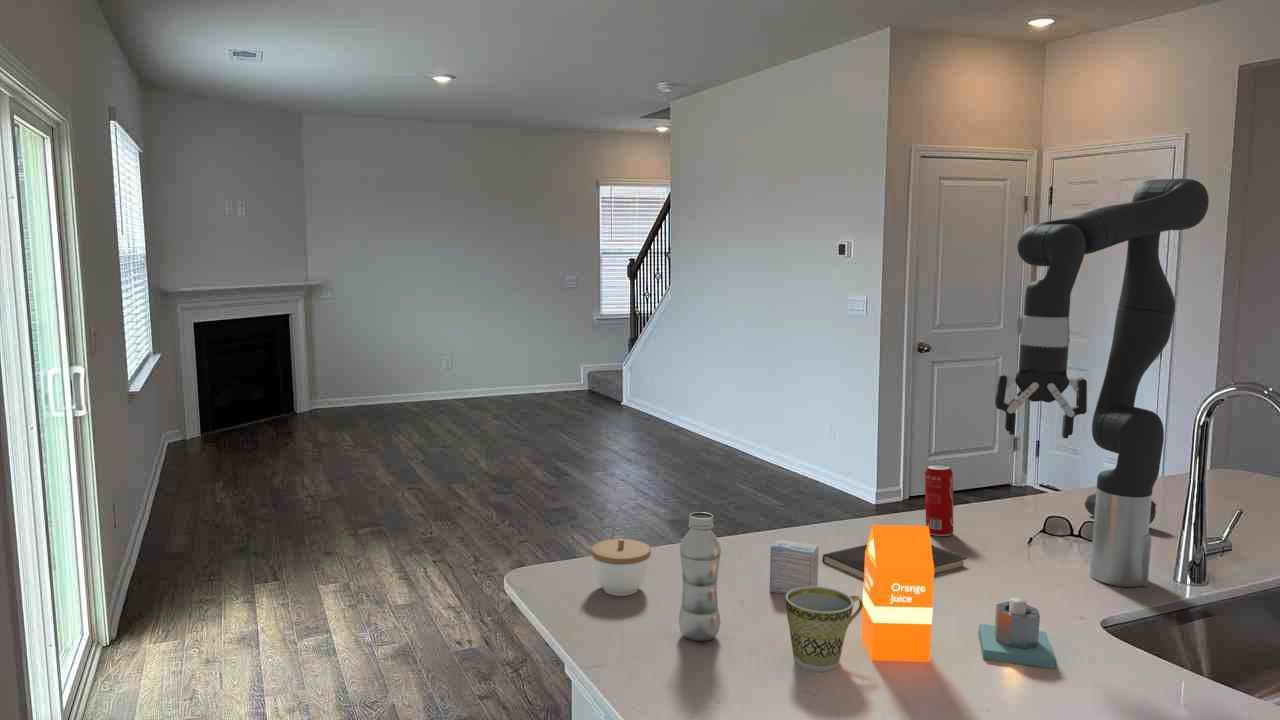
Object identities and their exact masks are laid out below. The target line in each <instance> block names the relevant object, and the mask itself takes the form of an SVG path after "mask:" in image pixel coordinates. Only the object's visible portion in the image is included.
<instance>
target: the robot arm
mask: <svg viewBox="0 0 1280 720" xmlns="http://www.w3.org/2000/svg"><path fill="white" fill-rule="evenodd" d="M1133 194H1134V195H1133V197H1132V201H1131V202H1125V203H1120V204H1119V203H1118V204H1113V205H1107V206H1101V207H1099V208H1095V209H1092V210H1089V211H1086V212H1083V213H1080V214H1078V215H1075V216H1072V217H1067V218H1061V219H1055V220H1049V221H1044V222H1039V223H1036V224H1033V225H1031V226H1030V227H1028V228H1026V229H1025V230H1024V231H1023V232H1022V234H1021V235H1020V237H1019V239H1018V241H1017V252H1018V255H1019V257H1020V258H1021V259H1022V261H1023V262H1024V263H1026V264H1029V265H1030V266H1034V267H1048V270H1047V272H1046V274H1045V276H1044V278H1043V279H1040V280H1035V281H1034V280H1033V281H1031V282H1030V283H1029V284H1027V286H1026V289H1025V294H1024V296H1025V297H1024V308H1023V309H1024V310H1023V312H1024V313H1023V320H1022V324H1021V329H1020V330H1021V331H1020V343H1019V345H1020V346H1019V357H1018V359H1019V360H1018V361H1019V362H1018V371H1017V373H1016V375H1010V374H1009V375H1007V374H1004V373H999V375H998V377H997V385H996V394H995V400H994V405H995V407H996V408H997V410H1000V411H1004V412H1005V423H1004V427H1005V430H1006V432H1008V434H1009V435H1010V436H1015V430H1016V429H1015V428H1016V413H1015V411H1016V410H1018V408H1019V407H1020V406H1021V405H1023V404H1024V403H1025V402H1026V400H1028V401H1030V402H1034V403H1035V402H1036V403H1037V402H1044V403H1052V402H1054V401H1055V402H1056V403H1057V404H1058V405H1059V407H1060V408H1061V410H1062V411H1063V412H1064V414H1062V415H1063V417H1062V426H1061V427H1062V429H1061V437H1062V439H1069V436H1072V435H1073V433H1074V419H1075V417H1077V416H1079V415H1084V414H1085V415H1086V413H1087V411H1088V409H1087V408H1088V407H1087V405H1088V403H1087V401H1088V399H1087V398H1088V397H1087V396H1088V395H1087V393H1088V392H1087V391H1088V390H1087V389H1088V388H1087V387H1088V382H1087V380H1086V379H1085V378H1084V377H1078V378H1069V377H1068V374H1067V371H1068V370H1067V369H1068V357H1069V345H1070V343H1071V341H1070V340H1071V339H1070V338H1071V337H1070V318H1069V317H1070V312H1071V311H1070V309H1071V294H1072V292H1073V291H1072V290H1073V288H1074V286H1075V283H1076V280H1077V277H1078V273H1079V271H1080V269H1081V266H1082V263H1083V260H1084V258H1085V256H1086V255H1090V254H1093V253H1096V252H1100V251H1102V250H1105V249H1108V248H1110V247H1113V246H1115V245H1118V244H1121V243H1125V242H1127V251H1126V261H1125V267H1124V273H1123V279H1122V284H1121V285H1122V286H1121V292H1120V296H1119V300H1118V305H1117V312H1116V317H1115V322H1114V328H1113V329H1114V330H1113V336H1112V337H1113V338H1112V342H1111V347H1110V351H1109V352H1110V353H1109V356H1108V361H1107V366H1106V371H1105V375H1104V379H1103V383H1102V385H1101V390H1100V392H1099V396H1098V398H1097V402H1096V405H1095V409H1094V414H1093V417H1092V418H1093V419H1092V424H1091V436H1092V438H1093V439H1092V440H1093V441H1094V443H1095V444H1096V445H1097V446H1098V447H1099V448H1101V449H1103V450H1105V451H1108V452H1111V453H1115V454H1118V456H1117V460H1116V461H1117V462H1116V466H1115V468H1113V469H1107V470H1103V471H1101V472H1100V473H1099V474H1098V475H1097V477H1096V492H1095V494H1096V502H1095V515H1094V518H1093V528H1092V529H1093V530H1092V540H1091V541H1092V542H1091V553H1090V563H1089V567H1090V568H1089V569H1090V570H1089V575H1090V576H1091V578H1092V579H1094V580H1096V581H1099V582H1101V583H1105V584H1107V585H1112V586H1117V587H1125V588H1135V587H1148V582H1149V572H1150V560H1151V550H1152V536H1151V535H1150V534H1149V533H1150V524H1149V522H1150V511H1151V500H1152V499H1153V498H1152V496H1153V489H1154V486H1155V484H1156V482H1157V479H1158V477H1159V473H1160V467H1161V459H1162V453H1163V447H1164V439H1165V437H1164V436H1165V431H1164V424H1163V422H1162V419H1161V418H1160V415H1158V414H1157V413H1155V412H1154V411H1152V410H1149V409H1145V408H1140V407H1136V406H1135V403H1136V396H1137V391H1138V390H1139V389H1138V387H1139V385H1140V381H1141V380H1142V378H1143V376H1144V374H1145V373H1146V372H1147V370H1148V369H1149V367H1150V366H1151V365H1152V364H1153V363H1154V362H1155V360H1156V359H1157V358H1158V357H1159V356H1160V354H1161V353H1162V351H1163V350H1164V349H1165V347H1166V345H1167V344H1168V342H1169V341H1170V340H1169V339H1170V337H1171V333H1172V332H1171V331H1172V328H1173V327H1172V326H1173V321H1174V317H1175V312H1176V300H1175V297H1174V296H1175V295H1174V293H1173V290H1172V288H1171V286H1170V283H1169V282H1168V279H1167V277H1166V274H1165V273H1164V270H1163V268H1162V265H1161V261H1160V257H1159V256H1160V255H1159V253H1160V249H1159V248H1160V247H1159V246H1160V237H1161V233H1163V232H1167V231H1183V230H1188V229H1192V228H1194V227H1196V226H1197V225H1199V224H1200V223H1201V222H1202V221H1203V220H1204V218H1205V216H1206V215H1207V213H1208V208H1209V205H1210V204H1209V202H1210V201H1209V200H1210V199H1209V193H1208V190H1207V189H1206V187H1205V185H1204V184H1203V183H1202V182H1200V181H1198V180H1195V179H1192V178H1169V179H1168V178H1166V179H1164V178H1163V179H1162V178H1161V179H1158V178H1157V179H1149V180H1145V181H1143V182H1142V183H1140V185H1138V187H1137V188H1136V190H1135V192H1134V193H1133ZM1013 383H1015V384H1016V385H1017V387H1018V389H1019V391H1018V392H1017V393H1016V394H1015V395H1014V396H1013V398H1012V399H1011V400H1010V401H1009V402H1008V403H1007V402H1005V398H1006V391H1007V389H1008V388H1010V387H1011V386H1012V384H1013ZM1069 386H1071V389H1072V390H1073V391H1074V392H1075V393H1076V394H1075V395H1076V396H1075V398H1076V400H1075V402H1076V403H1075V404H1076V405H1075V406H1070V404H1069V402H1067V400H1066V398H1065V397H1064V396H1063V393H1064V392H1065V390H1066V389H1067V388H1068V387H1069Z"/></svg>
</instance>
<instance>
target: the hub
mask: <svg viewBox="0 0 1280 720" xmlns="http://www.w3.org/2000/svg"><path fill="white" fill-rule="evenodd" d="M1009 604H1010V601H1005V602H1001V603H997V604H996V605H995V606H996V607H995V608H996V609H995V623H994V626H995V634H994V635H995V639H996V641H997V642H999V643H1001V644H1003V645H1005V646H1007V647H1010V648H1017V649H1025V650H1028V649H1031V648H1034V647H1038V635H1039V631H1040V620H1041V619H1040V618H1041V615H1040V611H1039V609H1038V608H1036V607H1033V606H1031V605H1028V603H1026V615H1019V614H1013V613H1011V612H1009Z"/></svg>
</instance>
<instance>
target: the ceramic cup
mask: <svg viewBox="0 0 1280 720" xmlns="http://www.w3.org/2000/svg"><path fill="white" fill-rule="evenodd" d="M784 598H785V609H786V615H787V616H786V617H787V621H788V626H789V636H790V642H791V648H792V655H793V662H794V663H795V664H796V665H797V666H799V667H800V668H801V669H803V670H805V671H811V672H816V673H825V672H829V671H830V672H831V671H835V670H837V669H838V666H839V663H840V660H841V655H842V650H843V646H844V641H845V638H846V633H847V630H848V628H849V626H850V624H851V623H852V621H853V620H855V618H856V617H858V616H859V615H860V614H861V612H862V610H863V598H861V597H859V596H857V595H851V596H850V595H848V594H847V593H845V592H843V591H840V590H837V589H835V588H831V587H826V586H818V587H815V586H809V587H800V588H795V589H793V590H791V591H789V592H788V593H787V594H785V596H784ZM857 601H858V603H859V606H858V609H857V610H856V611H854V613H853V608H854V603H855V602H857Z"/></svg>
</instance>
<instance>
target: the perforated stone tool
mask: <svg viewBox="0 0 1280 720" xmlns="http://www.w3.org/2000/svg"><path fill="white" fill-rule="evenodd" d="M1095 502H1096V493H1093V494H1090V495H1088V496H1087V497H1086V500H1085V501H1084V507H1085V509H1086V511H1087V512H1088V513H1089V514H1090V515H1092V516H1094V515H1095ZM1156 506H1157V503H1155V502H1154V500H1152V499H1151V511H1150V522H1149V525H1150V524H1152V522H1153V521H1154V520H1155V518H1156V514H1157V511H1156V509H1157V508H1156Z"/></svg>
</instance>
